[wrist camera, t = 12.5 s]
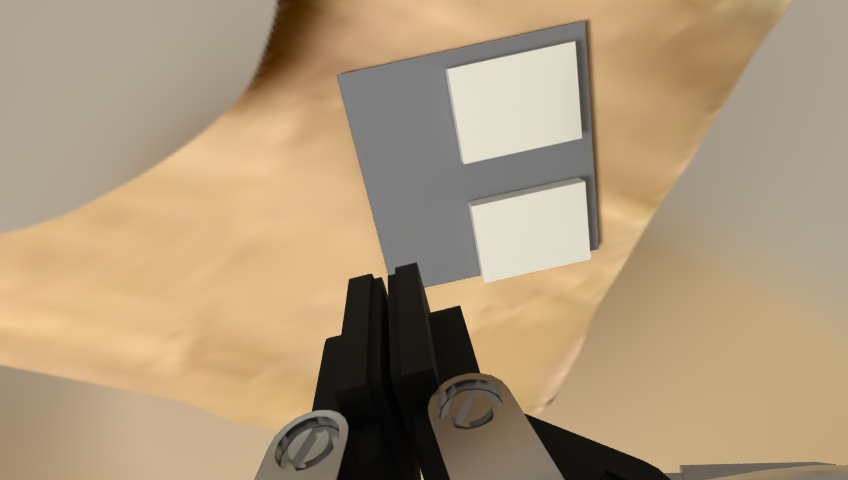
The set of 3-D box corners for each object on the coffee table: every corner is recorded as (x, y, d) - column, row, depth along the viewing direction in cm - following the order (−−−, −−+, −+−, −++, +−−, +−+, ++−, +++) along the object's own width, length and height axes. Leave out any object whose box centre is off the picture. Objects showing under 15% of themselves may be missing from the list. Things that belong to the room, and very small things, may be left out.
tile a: (447, 69, 28) (575, 41, 28) (444, 68, 29) (567, 41, 29) (463, 164, 30) (582, 138, 30) (460, 160, 32) (574, 135, 32)
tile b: (471, 206, 31) (585, 181, 31) (467, 201, 33) (577, 176, 33) (484, 282, 34) (590, 259, 34) (480, 275, 35) (583, 252, 35)
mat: (337, 74, 29) (336, 75, 29) (581, 21, 29) (584, 20, 29) (393, 290, 35) (393, 294, 35) (595, 245, 36) (598, 249, 35)
